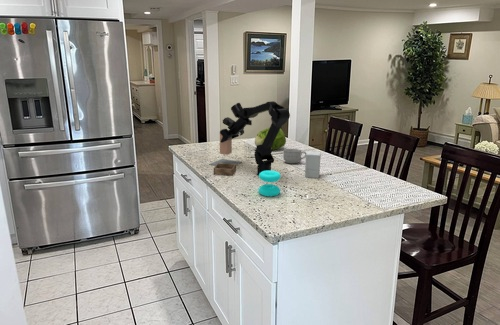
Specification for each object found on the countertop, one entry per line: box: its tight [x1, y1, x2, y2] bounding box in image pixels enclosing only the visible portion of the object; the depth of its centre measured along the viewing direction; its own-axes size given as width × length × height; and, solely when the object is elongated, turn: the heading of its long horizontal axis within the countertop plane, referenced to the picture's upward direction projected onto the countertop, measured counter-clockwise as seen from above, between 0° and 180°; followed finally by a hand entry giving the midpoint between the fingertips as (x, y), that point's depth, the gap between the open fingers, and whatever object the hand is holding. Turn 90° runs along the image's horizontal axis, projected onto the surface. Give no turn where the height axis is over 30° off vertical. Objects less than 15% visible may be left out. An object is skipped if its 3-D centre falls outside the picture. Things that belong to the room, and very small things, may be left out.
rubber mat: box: [209, 158, 243, 167], centre depth 221 cm, size 14×14×1 cm
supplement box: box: [304, 150, 322, 179], centre depth 199 cm, size 7×7×13 cm
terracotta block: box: [219, 133, 233, 156], centre depth 217 cm, size 5×5×13 cm
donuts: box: [258, 169, 282, 197], centre depth 172 cm, size 10×10×10 cm
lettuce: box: [254, 127, 287, 151], centre depth 255 cm, size 16×21×15 cm
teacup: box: [282, 148, 307, 164], centre depth 224 cm, size 14×11×8 cm
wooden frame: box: [213, 163, 237, 177], centre depth 203 cm, size 10×10×4 cm
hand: (223, 141), depth 218 cm, fingers closed on terracotta block, 5 cm apart
